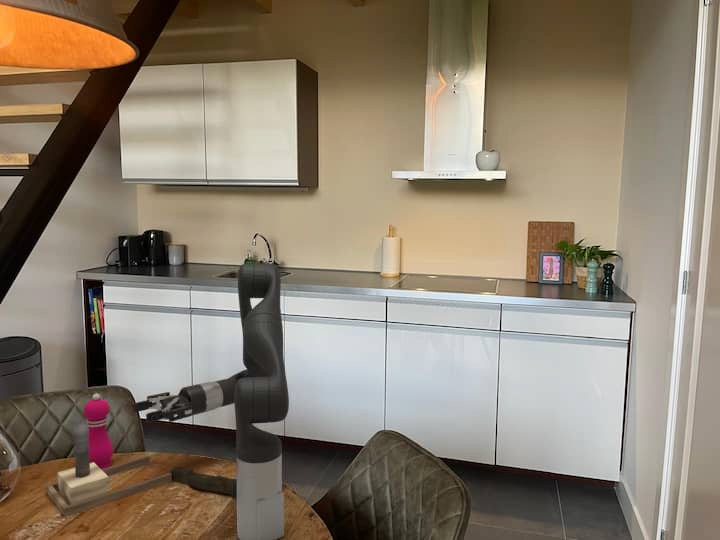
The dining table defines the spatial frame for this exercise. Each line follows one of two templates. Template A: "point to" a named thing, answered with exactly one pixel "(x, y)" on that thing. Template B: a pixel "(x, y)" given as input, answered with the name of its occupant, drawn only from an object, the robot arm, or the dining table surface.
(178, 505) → the dining table surface
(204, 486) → the hand tool
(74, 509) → the bay
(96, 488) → the joystick
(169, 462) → the dining table surface
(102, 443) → the pepper mill
